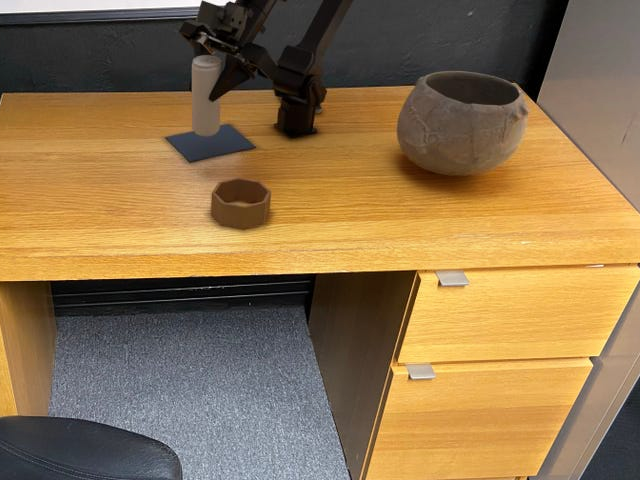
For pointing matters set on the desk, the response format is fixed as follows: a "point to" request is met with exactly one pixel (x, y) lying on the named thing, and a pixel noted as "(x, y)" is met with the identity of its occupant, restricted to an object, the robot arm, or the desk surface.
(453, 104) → the clay pot
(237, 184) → the brown octagonal cup
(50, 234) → the desk surface
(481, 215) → the desk surface
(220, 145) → the cloth
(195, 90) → the beverage can
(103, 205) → the desk surface
